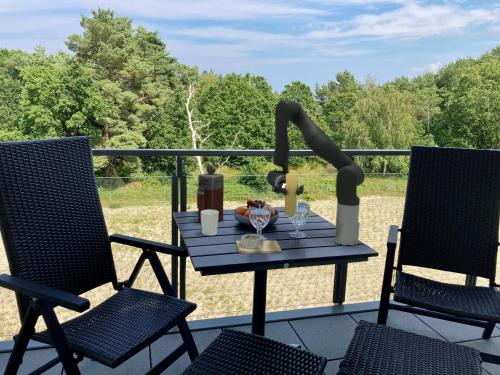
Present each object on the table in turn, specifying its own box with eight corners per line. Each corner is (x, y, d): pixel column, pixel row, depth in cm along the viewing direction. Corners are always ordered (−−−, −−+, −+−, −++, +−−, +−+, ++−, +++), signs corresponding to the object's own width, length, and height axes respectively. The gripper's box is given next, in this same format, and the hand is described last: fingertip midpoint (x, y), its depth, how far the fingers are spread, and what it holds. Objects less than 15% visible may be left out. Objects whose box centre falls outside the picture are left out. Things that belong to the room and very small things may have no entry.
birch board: (276, 242, 184) (276, 240, 184) (281, 253, 171) (281, 250, 171) (236, 242, 182) (236, 240, 182) (238, 253, 170) (238, 251, 169)
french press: (194, 222, 211) (194, 165, 205) (209, 217, 220) (209, 162, 214) (208, 225, 206) (209, 167, 200) (223, 220, 215) (224, 164, 210)
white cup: (202, 236, 190) (202, 214, 188) (199, 231, 197) (199, 209, 195) (219, 235, 192) (220, 213, 190) (216, 230, 199) (216, 209, 197)
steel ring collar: (261, 242, 181) (261, 234, 180) (264, 249, 173) (264, 240, 172) (240, 242, 180) (240, 234, 179) (242, 249, 172) (242, 240, 171)
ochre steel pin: (294, 212, 178) (296, 173, 175) (296, 214, 173) (298, 175, 170) (283, 212, 177) (285, 173, 174) (285, 214, 173) (287, 175, 170)
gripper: (268, 176, 186) (274, 183, 169) (301, 176, 187) (310, 183, 171) (268, 193, 187) (274, 202, 171) (300, 193, 189) (309, 202, 172)
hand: (292, 192), depth 171 cm, fingers closed on ochre steel pin, 4 cm apart
